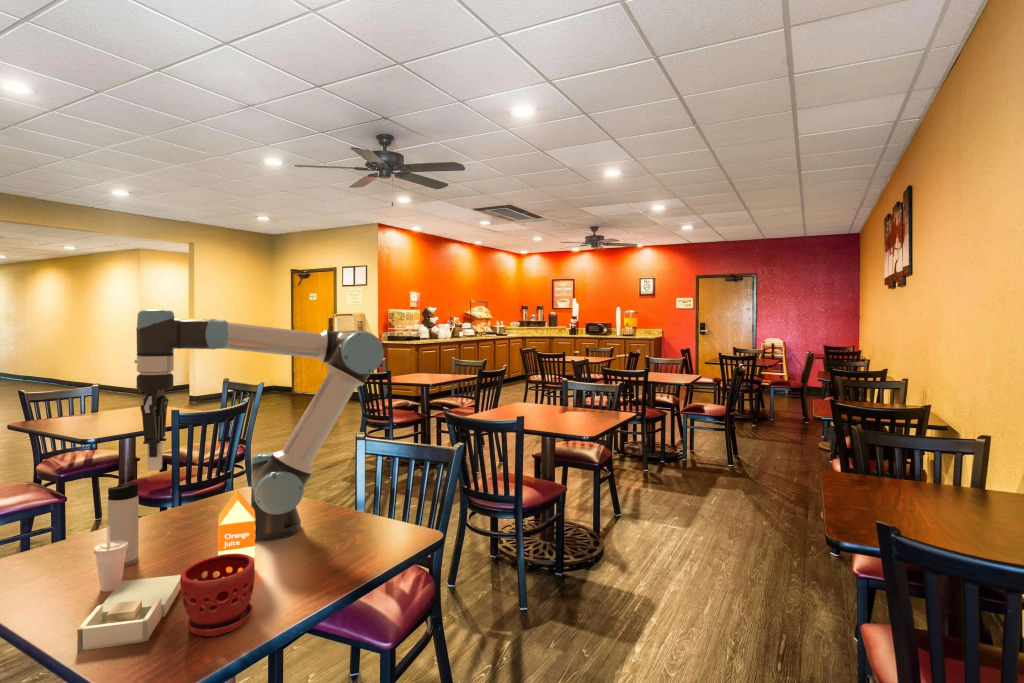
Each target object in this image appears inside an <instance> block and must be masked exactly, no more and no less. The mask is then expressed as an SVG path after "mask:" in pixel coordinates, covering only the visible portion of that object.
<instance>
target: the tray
mask: <svg viewBox="0 0 1024 683" xmlns="http://www.w3.org/2000/svg"><path fill="white" fill-rule="evenodd" d="M162 618H163V617H162V598H157V599H156V601H155V603H154V604H153V606H152V607H151V609H150V610H149V612H148V613H147V615H146V616H145V617H140V620H133V621H125V622H117V623H109V624H107V622H103V605H102V604H98V605H97V606H96V607H95V608H94V609H93V610H92V612H91V613H90V614H89V615H88V616H87V618H86V619H85V620H84V621H83V623H82V624H81V625H80V626H79V627H78V628H77V631H76V632H77V634H76V635H77V641H76V642H77V643H76V644H77V646H76V648H77V652H80V651H81V652H82V651H89V650H97V649H102V648H103V649H105V648H109V647H110V648H111V647H117V646H123V645H124V646H125V645H132V644H138V643H146V642H145V641H147V642H148V641H149V639H150V637H151V636H152V634H153V632H154V631H155V629H156V628H157V625H158V624H159V623H160V621H161V619H162Z"/></svg>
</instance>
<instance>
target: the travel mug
mask: <svg viewBox="0 0 1024 683" xmlns="http://www.w3.org/2000/svg"><path fill="white" fill-rule="evenodd" d="M139 494H140V493H139V482H126V483H121V484H117V485H116V486H112V487H109V488H107V495H108V496H107V527H108V526H110V541H116V540H123V541H127V542H128V546H129V547H128V548H127V549H126V556H125V562H124V568H125V567H128V566H132V565H133V564H135V563H137V562H138V561H139V529H140V526H139V523H140V522H139V520H140V519H139V516H140V515H139V509H140V508H139V505H140V502H139Z"/></svg>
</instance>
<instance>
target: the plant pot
mask: <svg viewBox="0 0 1024 683" xmlns="http://www.w3.org/2000/svg"><path fill="white" fill-rule="evenodd" d="M227 567H231V568H232V572H227V571H226V568H227ZM255 567H256V566H254V560H253V558H252V557H251V556H249V555H246V554H238V553H233V554H223V555H218V554H217V555H213V556H210V557H206V558H203V559H201V560H198V561H196V562H194V563H191V564H190V565H189V566H187V567H186V568H185V569H183V571H182V572H181V574H180V575H181V577H180V585H181V589H180V593H181V601H182V605H183V607H184V610H185V612H186V614H187V616H188V619H187V622H186V626H187V629H188V630H189V631H190V632H191V633H192V634H194V635H197V636H202V637H215V636H218V635H219V636H220V635H222V634H225V633H229V632H231V631H234V630H236V629H238V628H240V627H241V626H242V625H244V624H245V623H246V622H248V620H249V619H250V618H251V616H252V614H253V605H252V604H251V603H250V601H251V599H252V596H253V592H254V586H255V580H256V579H255V578H256V577H255V574H256V573H255V571H256V570H255ZM239 568H242V569H243V570H242V571H240V572H238V569H239ZM218 571H219V573H220V574H219V576H218V575H217V576H214V573H215V572H218ZM205 572H207V574H206V575H205V576H204V577H203V576H202V575H203V573H205ZM222 577H224V578H222Z"/></svg>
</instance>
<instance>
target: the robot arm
mask: <svg viewBox="0 0 1024 683" xmlns="http://www.w3.org/2000/svg"><path fill="white" fill-rule="evenodd" d="M383 346H384V345H383V344H382V342H381V340H380V339H379V338H378V337H377V336H376V335H375V334H373V333H371V332H368V331H367V330H345V331H341V330H340V331H336V330H335V331H333V330H324V331H323V332H313V331H306V330H305V331H304V330H296V329H287V328H279V327H272V326H263V325H255V324H248V323H239V322H229V321H227V320H224V319H217V318H211V319H210V318H209V319H208V318H178V317H177V318H176V317H175V314H174V311H172V310H167V309H165V310H163V309H161V310H160V309H142V310H140V311H139V312H138V313H137V321H136V359H134V363H135V364H136V372H138V373H139V374H137V375H136V389H137V390H138V391H145V396H144V397H143V399H142V400H143V401H142V403H143V404H141V405H140V410H141V411H140V412H141V417H142V429H143V442H142V444H143V445H147V457H146V458H147V459H146V460H147V466H146V469H147V471H160V470H162V469H163V442H166V441H167V438H165V437H166V430H167V429H166V426H167V415H168V413H167V411H168V404H169V398H167V395H166V392H165V391H167V390H171V389H173V388H174V374H173V373H172V372H174V371H175V366H174V363H175V362H174V359H175V358H174V352H175V351H174V350H176V349H177V350H178V349H179V350H182V349H184V350H185V349H187V350H189V349H190V350H202V349H203V350H213V351H214V350H220V349H221V350H222V349H225V350H233V351H243V352H251V353H253V352H254V353H263V354H273V355H282V356H290V357H291V356H292V357H302V358H309V359H311V358H312V359H318V360H319V361H320V362H321V363H325V364H326V363H327V364H326V367H327V372H328V373H327V375H326V376H325V378H324V379H323V381H322V383H321V384H320V386H319V388H318V389H317V390H316V393H315V394H314V396H313V398H312V399H311V401H310V402H309V404H308V405H307V408H306V409H305V411H304V412H303V414H302V416H301V417H300V418H299V420H298V422H297V424H296V425H295V427H294V429H293V431H292V432H291V434H290V436H289V437H288V438H287V440H286V442H285V444H284V446H283V448H282V449H280V450H277V451H270V452H269V451H268V452H262V453H261V452H260V453H257V454H254V455H253V456H252V457H251V463H250V467H251V474H250V475H251V481H250V483H251V484H250V485H251V486H250V488H251V489H250V491H251V493H250V500H251V501H250V506H251V507H252V508H253V509H254V511H255V519H256V521H255V527H256V530H255V541H260V542H262V541H265V542H267V541H274V540H280V539H285V538H287V537H292V536H293V535H295V534H297V533H298V532H299V531H300V530H301V524H302V523H301V522H302V520H301V517H300V515H299V511H298V508H297V506H298V505H299V504H300V502H301V501H302V499H303V496H304V492H305V489H304V488H305V486H306V484H307V482H308V481H309V478H310V477H311V475H312V473H313V467H312V463H313V461H314V460H315V457H316V456H317V454H318V452H319V451H320V450H321V447H322V446H323V445H324V442H325V441H326V439H327V438H328V436H329V434H330V432H331V430H332V429H333V426H334V425H335V424H336V422H337V420H338V419H339V417H340V415H341V413H342V412H343V411H344V408H345V407H346V406H347V404H348V402H349V400H350V399H351V397H352V396H353V393H354V392H355V389H356V388H359V387H362V386H364V385H365V383H366V382H367V380H368V379H369V377H370V375H371V374H372V373H373V372H375V371H376V370H377V369H378V368H379V367H380V366H381V364H382V363H383V359H384V354H385V353H384V347H383Z"/></svg>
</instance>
